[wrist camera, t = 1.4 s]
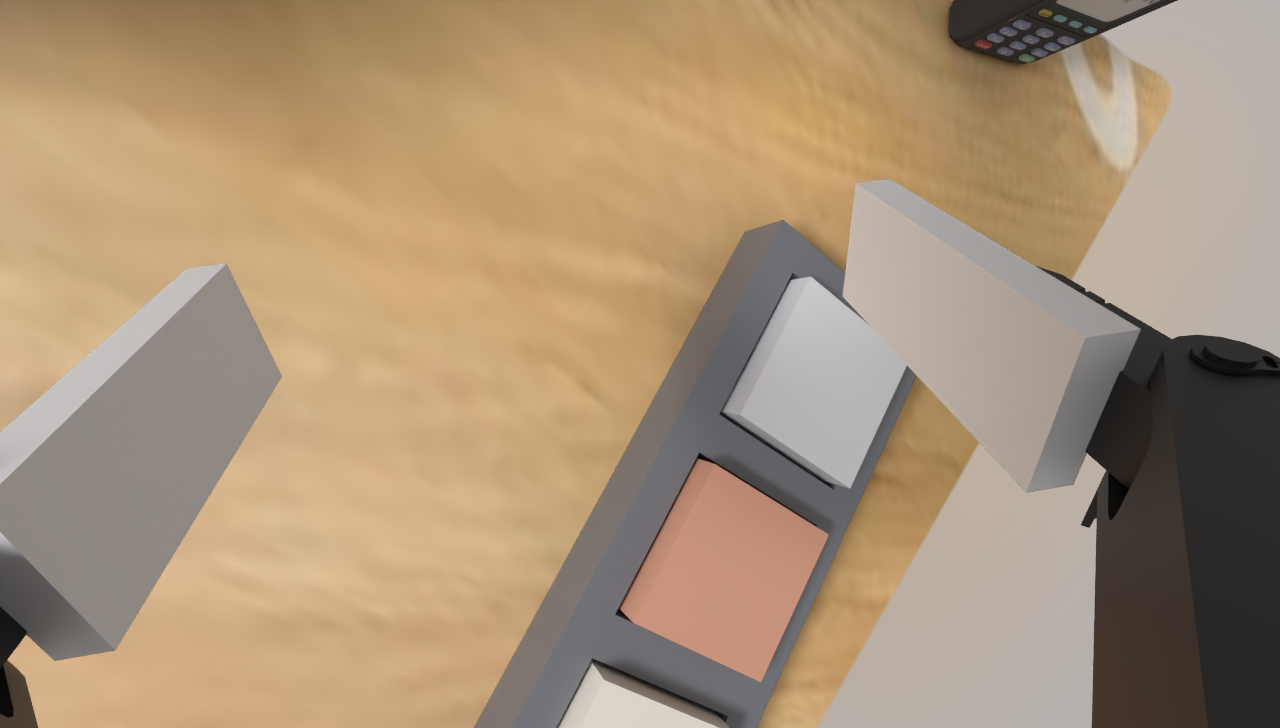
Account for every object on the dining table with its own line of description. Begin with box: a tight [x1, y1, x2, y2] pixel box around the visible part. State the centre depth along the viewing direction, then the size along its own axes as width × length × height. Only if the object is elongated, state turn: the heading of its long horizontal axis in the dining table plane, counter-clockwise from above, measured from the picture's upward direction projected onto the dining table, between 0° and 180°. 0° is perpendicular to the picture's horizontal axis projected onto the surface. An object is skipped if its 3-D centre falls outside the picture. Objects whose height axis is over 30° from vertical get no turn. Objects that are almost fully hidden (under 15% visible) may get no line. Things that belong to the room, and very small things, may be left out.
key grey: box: [720, 277, 907, 488], centre depth 37 cm, size 9×9×3 cm
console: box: [474, 220, 917, 728], centre depth 36 cm, size 14×38×4 cm, turn 150°
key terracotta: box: [619, 458, 829, 682], centre depth 35 cm, size 9×9×3 cm
